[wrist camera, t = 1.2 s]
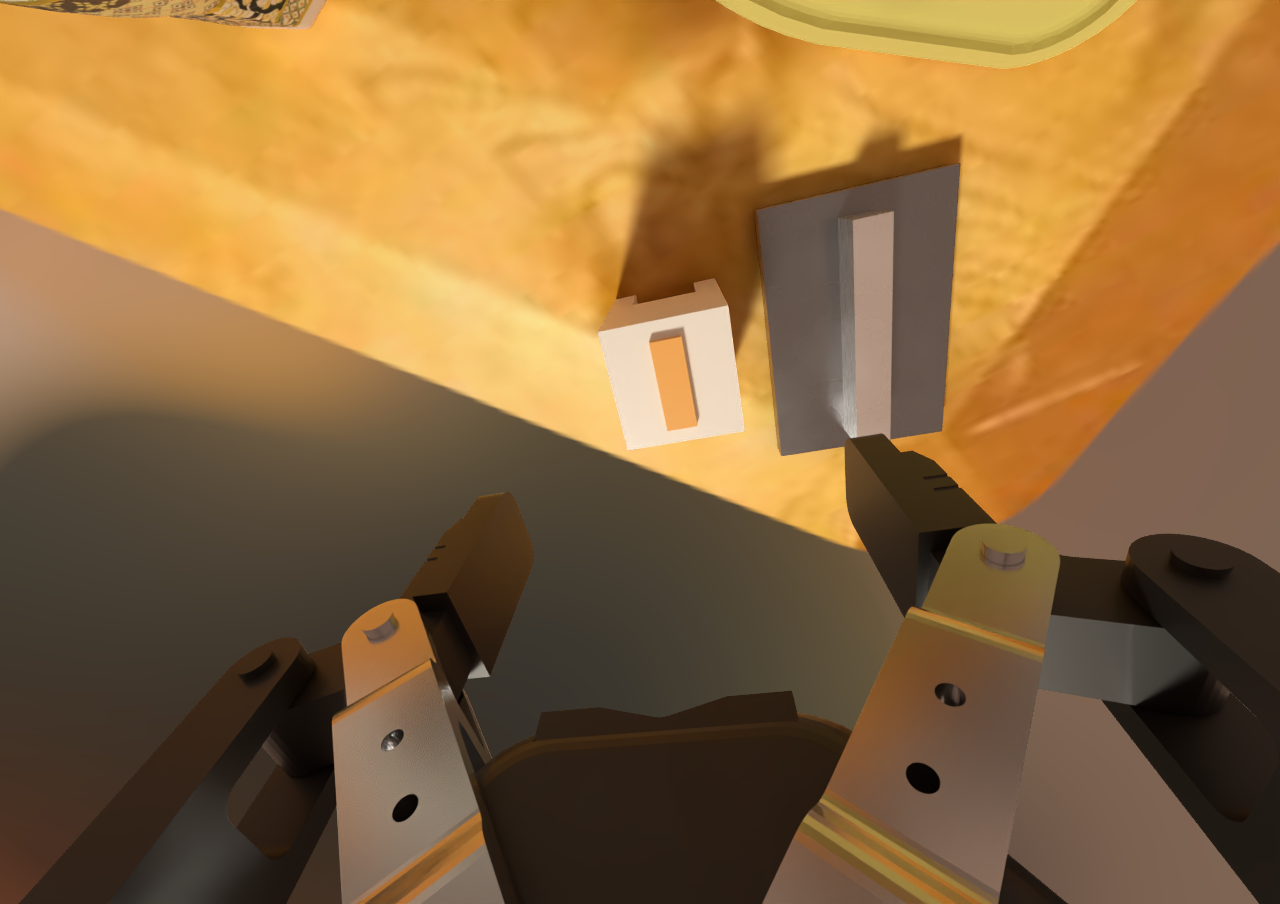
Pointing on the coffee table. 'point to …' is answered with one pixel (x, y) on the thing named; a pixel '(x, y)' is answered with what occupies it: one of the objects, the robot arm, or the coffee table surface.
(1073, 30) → the plastic component
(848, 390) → the panel
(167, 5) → the ceramic cup
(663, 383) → the block
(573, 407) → the coffee table surface
